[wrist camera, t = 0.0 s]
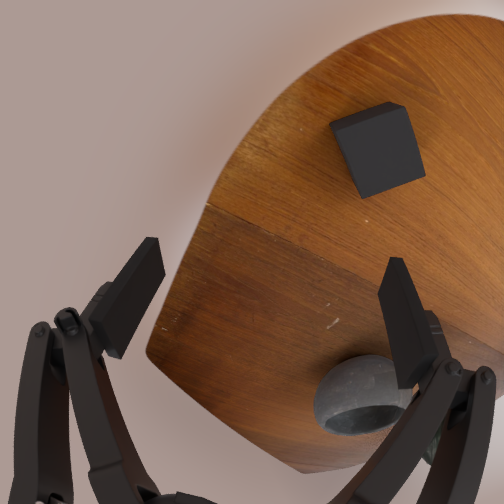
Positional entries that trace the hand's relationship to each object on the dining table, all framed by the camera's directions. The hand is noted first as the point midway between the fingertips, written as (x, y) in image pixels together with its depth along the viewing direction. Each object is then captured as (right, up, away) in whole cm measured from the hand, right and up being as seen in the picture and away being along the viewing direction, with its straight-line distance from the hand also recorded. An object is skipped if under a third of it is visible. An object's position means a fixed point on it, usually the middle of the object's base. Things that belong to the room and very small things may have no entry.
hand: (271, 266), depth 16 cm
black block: (+10, +11, +7) cm, 16 cm away
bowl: (+16, -17, +25) cm, 35 cm away
